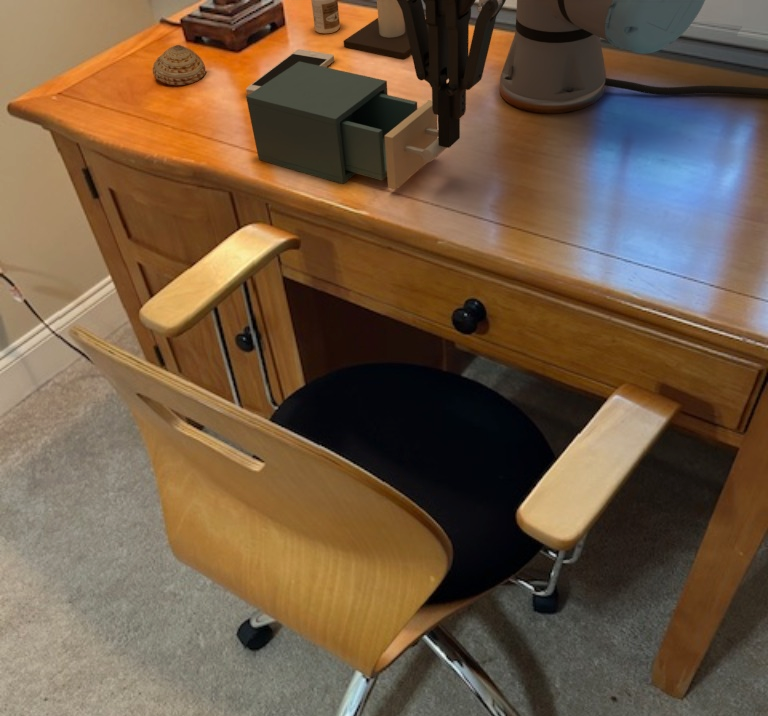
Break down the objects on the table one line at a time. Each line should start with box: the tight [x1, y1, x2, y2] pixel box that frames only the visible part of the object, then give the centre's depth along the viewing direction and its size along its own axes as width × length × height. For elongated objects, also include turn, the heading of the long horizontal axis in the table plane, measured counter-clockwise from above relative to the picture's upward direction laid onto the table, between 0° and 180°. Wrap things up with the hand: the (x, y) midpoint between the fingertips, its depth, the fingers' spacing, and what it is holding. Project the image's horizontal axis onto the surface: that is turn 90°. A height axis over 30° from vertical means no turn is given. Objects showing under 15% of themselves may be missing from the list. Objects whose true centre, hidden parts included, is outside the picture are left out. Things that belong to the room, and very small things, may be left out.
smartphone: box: [245, 48, 335, 95], centre depth 126 cm, size 7×15×1 cm, turn 151°
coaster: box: [343, 17, 428, 60], centre depth 132 cm, size 12×12×1 cm
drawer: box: [340, 93, 448, 191], centre depth 103 cm, size 18×10×7 cm, turn 56°
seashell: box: [152, 44, 206, 86], centre depth 129 cm, size 8×6×8 cm
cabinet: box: [245, 61, 389, 185], centre depth 107 cm, size 15×12×9 cm
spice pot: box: [376, 0, 405, 38], centre depth 128 cm, size 4×4×9 cm
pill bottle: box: [310, 0, 341, 34], centre depth 134 cm, size 4×4×8 cm
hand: (449, 141), depth 98 cm, fingers closed
